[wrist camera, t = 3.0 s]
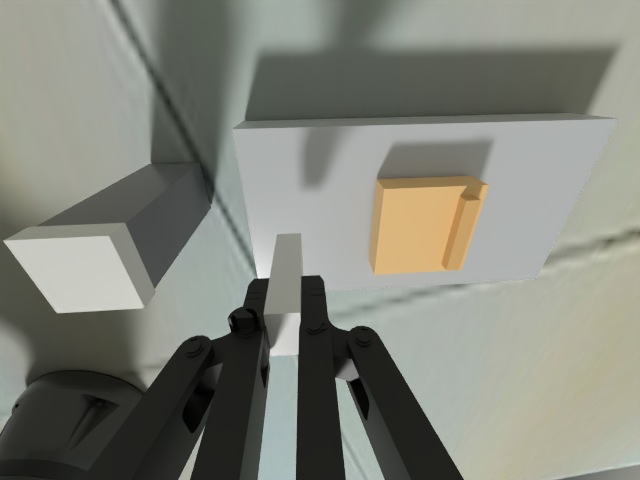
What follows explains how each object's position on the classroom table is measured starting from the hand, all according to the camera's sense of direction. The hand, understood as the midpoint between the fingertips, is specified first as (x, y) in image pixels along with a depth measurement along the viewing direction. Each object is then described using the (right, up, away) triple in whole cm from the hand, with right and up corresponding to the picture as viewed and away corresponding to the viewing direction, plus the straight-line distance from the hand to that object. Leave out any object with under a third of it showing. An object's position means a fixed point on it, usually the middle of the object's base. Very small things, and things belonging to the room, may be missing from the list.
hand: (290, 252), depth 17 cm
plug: (-10, +5, +5) cm, 12 cm away
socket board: (+9, +4, +7) cm, 13 cm away
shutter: (+9, +2, +4) cm, 10 cm away
